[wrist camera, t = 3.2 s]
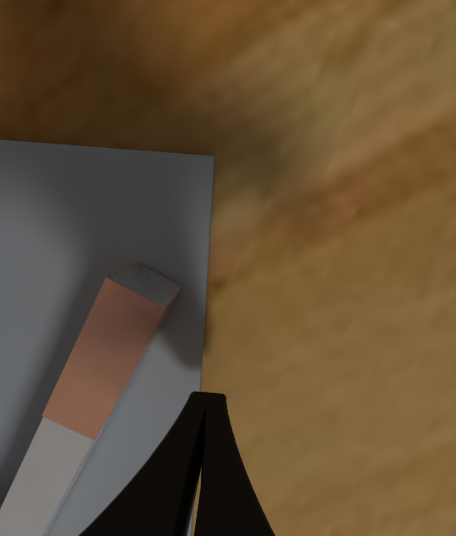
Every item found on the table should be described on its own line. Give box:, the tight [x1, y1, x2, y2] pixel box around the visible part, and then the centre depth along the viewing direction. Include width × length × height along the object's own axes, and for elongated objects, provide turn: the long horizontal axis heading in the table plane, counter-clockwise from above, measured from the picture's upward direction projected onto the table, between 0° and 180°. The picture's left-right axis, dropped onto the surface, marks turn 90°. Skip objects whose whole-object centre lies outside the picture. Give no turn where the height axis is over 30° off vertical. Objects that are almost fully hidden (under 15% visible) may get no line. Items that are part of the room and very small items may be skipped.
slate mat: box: [0, 140, 215, 536], centre depth 12 cm, size 24×15×1 cm, turn 176°
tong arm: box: [0, 263, 182, 536], centre depth 10 cm, size 20×4×3 cm, turn 151°
